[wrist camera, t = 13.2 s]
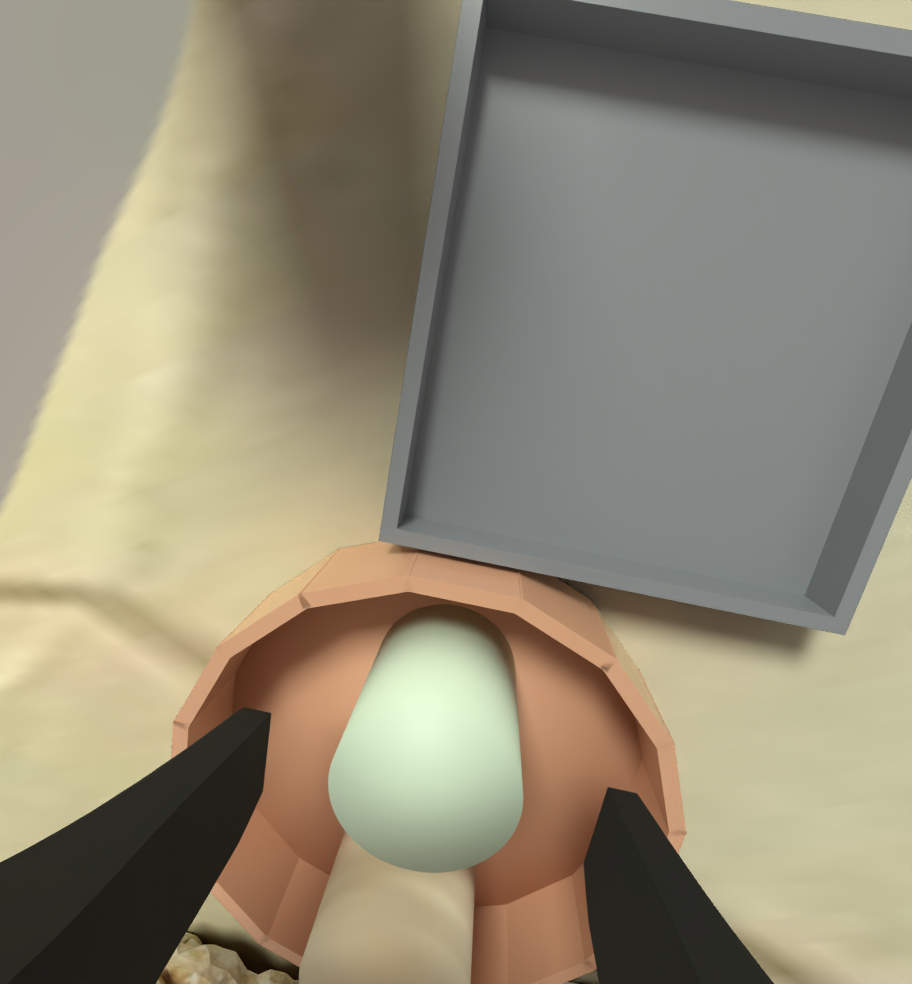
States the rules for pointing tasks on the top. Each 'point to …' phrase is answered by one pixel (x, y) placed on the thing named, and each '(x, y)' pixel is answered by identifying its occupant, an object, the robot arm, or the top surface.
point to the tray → (666, 304)
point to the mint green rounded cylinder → (433, 745)
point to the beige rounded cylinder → (390, 924)
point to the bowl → (542, 730)
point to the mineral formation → (213, 966)
